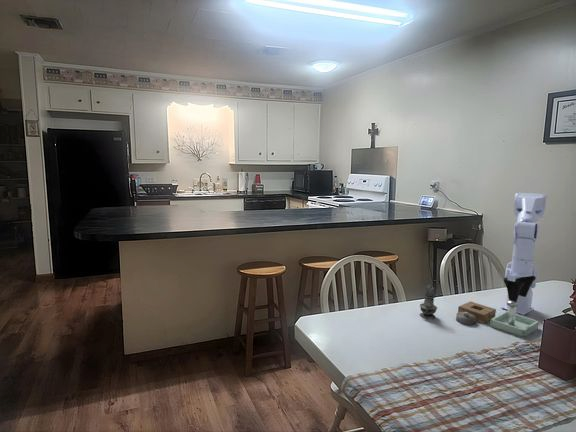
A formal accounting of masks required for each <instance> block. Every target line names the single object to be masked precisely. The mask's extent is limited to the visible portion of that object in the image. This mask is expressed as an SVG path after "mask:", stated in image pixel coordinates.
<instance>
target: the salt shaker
mask: <svg viewBox="0 0 576 432" xmlns="http://www.w3.org/2000/svg"><path fill="white" fill-rule="evenodd" d="M424 293H425V294H423V296H424V301H423V303H420V304H419V307H420V311H421V313H420V314H419V317H421V318H423V319H427V320H435V319H436V318H437V317H436V315H435V314H436V311H437V309H438V306H437V305H435V304H434V300H435V287H434V286H432V284H431V283H429V285H426V286H425V292H424Z"/></svg>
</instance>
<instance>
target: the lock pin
mask: <svg viewBox="0 0 576 432" xmlns="http://www.w3.org/2000/svg"><path fill="white" fill-rule="evenodd" d="M507 305H508V310H507V324H508V325H511V326H515V318H516V314H517V313H516V306H518V302H517V301H516V302H514V301H511V300H507Z"/></svg>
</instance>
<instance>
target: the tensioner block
mask: <svg viewBox="0 0 576 432" xmlns="http://www.w3.org/2000/svg"><path fill="white" fill-rule="evenodd" d="M496 313H497V308H494V307H489V306H486V305H484V304H481V303H478V302H475V301H471V300H470V301H467V302H466V303H464V304H462V305H459V306H458V308H457V313H456V316H455V321H457V322H458V323H459V324H462V325H467V326H473V325H475V324H476V322H479V323H482V324H485V323H487V322H490V320H491V319H492V318H494V317H496Z"/></svg>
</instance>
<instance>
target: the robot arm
mask: <svg viewBox="0 0 576 432" xmlns="http://www.w3.org/2000/svg"><path fill="white" fill-rule="evenodd" d="M547 198H548V197H547V194H546V193H543V194H542V193H529V192H516V193H515V195H514V203H513V212H514V215H515V216H516V217H517V220H516V222H515V223H514V228H513V248H512V257H511V261H510V262H508V263H507V264H506V268H505V273H504V278H503V282H504V284H505V287H506V289H507V292H506V300H505V301H506V302H505V304H504V305H502V306H501V307H500V308H501V309H503V310H506V311H508V305H507V300H511V301H514V302H516V301H517V302H518V306H516V314H518V315H521V316H524V315H526V314H529V313H530V312H531V311H533V310H534V309H535V308H534V307H532V303H533V293H534V292H533V289H534V288H536V284H537V278H538V276H537V275H538V272H537V271H538V268H537V267H536V265H534V263H533V262H534V253H535V247H536V245H535V244H536V241H537V239H538V237H539V236H538V235H539V222H538V221H539V220H538V219H540V218H543V215H544V214H545V210H546V206H547V205H546V204H547Z"/></svg>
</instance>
